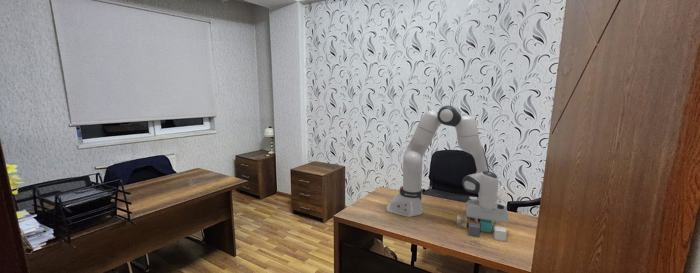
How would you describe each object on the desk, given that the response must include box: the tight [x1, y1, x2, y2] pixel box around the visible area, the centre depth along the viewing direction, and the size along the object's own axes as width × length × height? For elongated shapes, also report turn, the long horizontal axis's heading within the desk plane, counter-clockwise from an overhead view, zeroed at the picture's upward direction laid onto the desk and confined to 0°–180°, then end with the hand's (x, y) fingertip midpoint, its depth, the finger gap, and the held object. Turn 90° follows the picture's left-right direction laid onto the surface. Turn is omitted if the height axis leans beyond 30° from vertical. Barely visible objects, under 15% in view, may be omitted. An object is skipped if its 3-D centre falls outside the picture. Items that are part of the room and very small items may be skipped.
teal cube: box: [479, 219, 493, 233], centre depth 153 cm, size 5×5×5 cm
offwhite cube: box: [493, 225, 507, 242], centre depth 144 cm, size 5×5×5 cm
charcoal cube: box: [468, 222, 481, 238], centre depth 149 cm, size 5×5×5 cm
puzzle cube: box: [467, 196, 481, 221], centre depth 168 cm, size 10×10×10 cm
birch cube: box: [456, 214, 468, 230], centre depth 157 cm, size 5×5×5 cm
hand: (485, 226), depth 153 cm, fingers open, 6 cm apart
